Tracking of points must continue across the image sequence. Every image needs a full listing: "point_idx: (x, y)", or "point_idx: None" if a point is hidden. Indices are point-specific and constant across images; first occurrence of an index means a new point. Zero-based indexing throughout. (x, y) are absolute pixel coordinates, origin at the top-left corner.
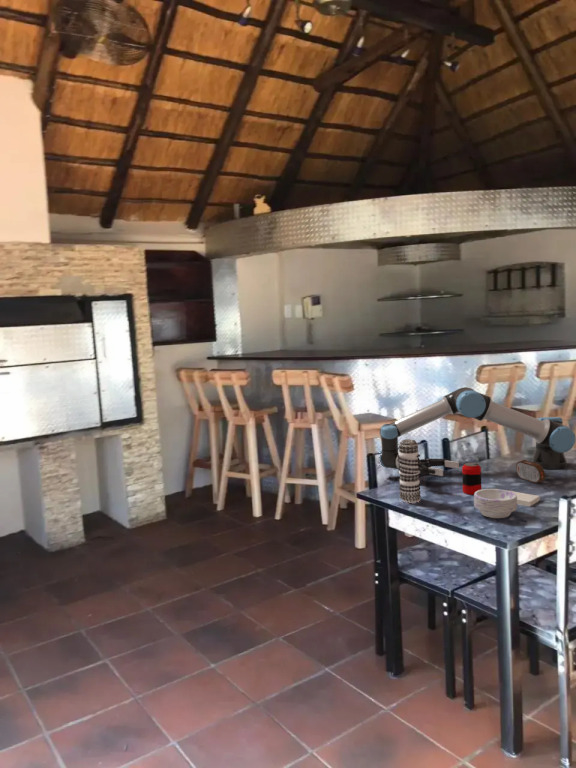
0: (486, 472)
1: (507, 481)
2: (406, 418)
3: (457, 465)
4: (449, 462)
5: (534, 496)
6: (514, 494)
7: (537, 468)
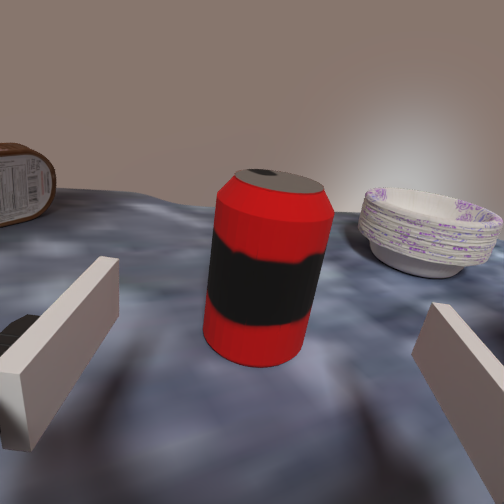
0: None
1: (2, 265)
2: None
3: (116, 291)
4: (68, 332)
5: None
6: (383, 188)
7: (44, 157)
